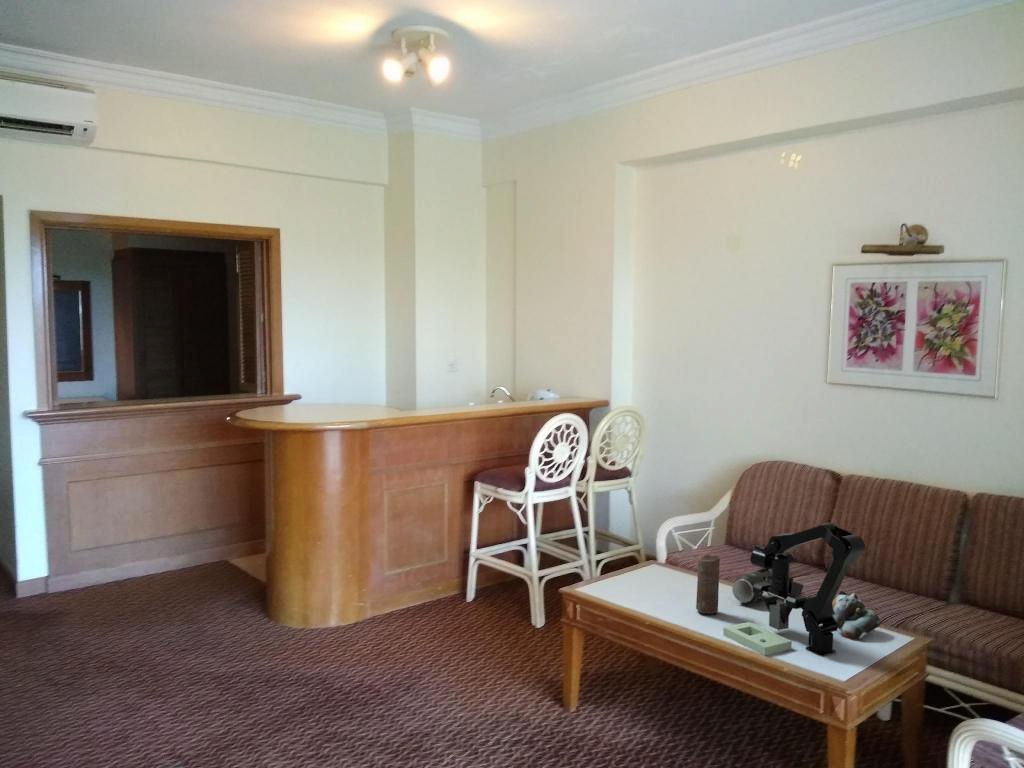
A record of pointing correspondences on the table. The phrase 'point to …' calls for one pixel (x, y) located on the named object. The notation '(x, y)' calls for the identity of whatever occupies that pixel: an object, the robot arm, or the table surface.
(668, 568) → the table surface
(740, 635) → the socket box
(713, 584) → the brown cylinder
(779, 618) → the block
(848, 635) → the lucky cat figurine
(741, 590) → the muzzle brake
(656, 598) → the table surface
